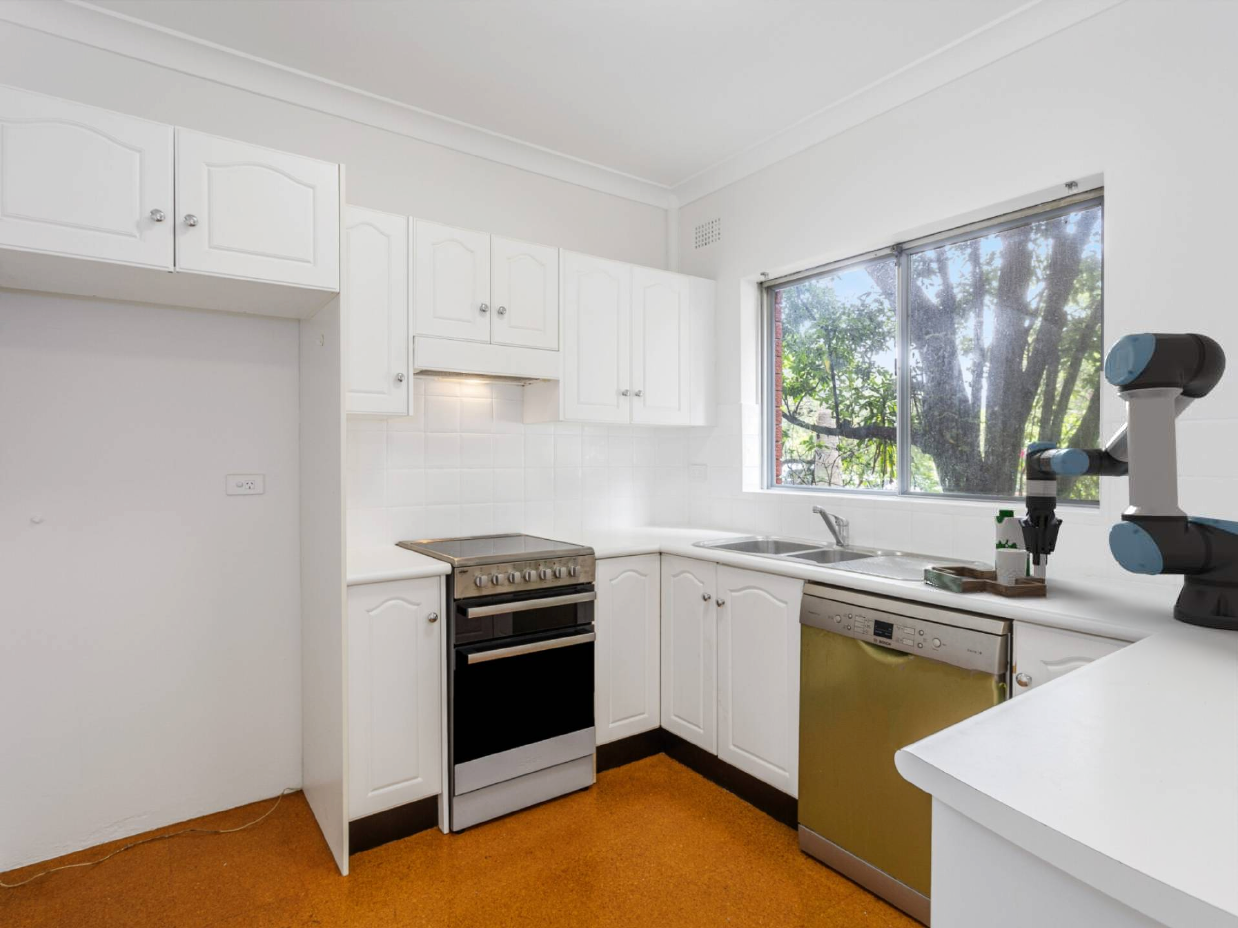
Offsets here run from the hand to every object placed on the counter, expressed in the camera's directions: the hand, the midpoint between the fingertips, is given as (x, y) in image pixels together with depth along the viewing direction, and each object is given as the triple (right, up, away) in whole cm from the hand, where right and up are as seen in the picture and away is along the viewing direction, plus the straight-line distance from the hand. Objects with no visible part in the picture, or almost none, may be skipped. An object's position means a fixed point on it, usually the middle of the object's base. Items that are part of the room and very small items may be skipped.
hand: (1039, 576), depth 194 cm
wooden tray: (-18, -2, -3) cm, 18 cm away
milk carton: (+2, -2, +17) cm, 17 cm away
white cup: (-9, -2, -2) cm, 10 cm away
